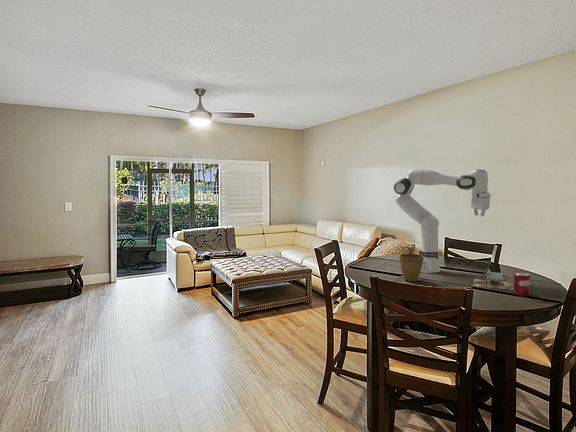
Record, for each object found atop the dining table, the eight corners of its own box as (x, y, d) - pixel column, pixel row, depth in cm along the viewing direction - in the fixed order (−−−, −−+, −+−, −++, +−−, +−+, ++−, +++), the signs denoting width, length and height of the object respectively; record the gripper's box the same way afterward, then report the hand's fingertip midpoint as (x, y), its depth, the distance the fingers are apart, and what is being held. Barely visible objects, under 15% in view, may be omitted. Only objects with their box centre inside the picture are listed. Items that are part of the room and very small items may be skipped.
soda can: (510, 294, 184) (510, 272, 184) (522, 293, 185) (523, 272, 184) (520, 298, 177) (521, 275, 176) (533, 297, 178) (534, 275, 177)
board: (473, 287, 198) (473, 277, 197) (473, 280, 213) (473, 271, 212) (522, 293, 186) (522, 282, 186) (519, 285, 201) (519, 275, 200)
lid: (487, 278, 195) (487, 273, 195) (486, 273, 207) (486, 268, 207) (503, 279, 191) (503, 274, 191) (502, 274, 203) (502, 269, 203)
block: (490, 284, 199) (490, 277, 199) (489, 283, 203) (490, 275, 202) (499, 285, 197) (499, 278, 196) (498, 283, 201) (498, 276, 200)
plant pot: (406, 283, 208) (406, 258, 207) (394, 277, 223) (395, 254, 222) (428, 282, 210) (428, 257, 209) (415, 276, 225) (416, 253, 224)
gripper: (468, 194, 227) (467, 214, 228) (481, 194, 207) (480, 217, 208) (478, 194, 226) (477, 214, 227) (492, 194, 206) (491, 217, 207)
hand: (479, 215), depth 218 cm, fingers open, 8 cm apart
